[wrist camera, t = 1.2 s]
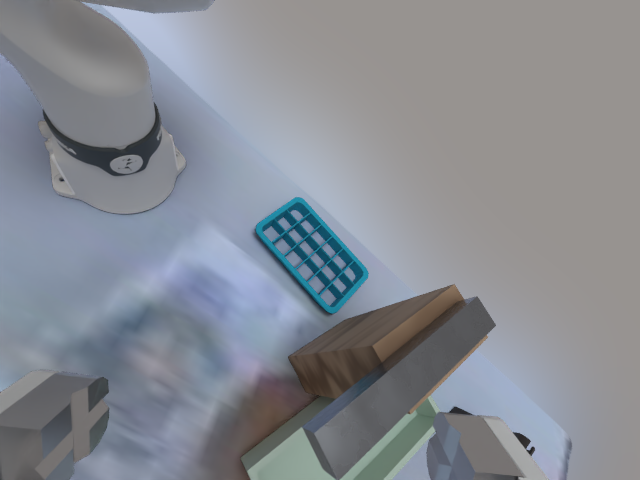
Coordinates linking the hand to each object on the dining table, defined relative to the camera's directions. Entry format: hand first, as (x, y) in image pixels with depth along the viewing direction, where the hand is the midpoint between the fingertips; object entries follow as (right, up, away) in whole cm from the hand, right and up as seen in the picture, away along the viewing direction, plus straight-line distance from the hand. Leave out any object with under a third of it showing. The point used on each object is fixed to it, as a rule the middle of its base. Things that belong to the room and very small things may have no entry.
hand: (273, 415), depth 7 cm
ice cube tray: (-1, +1, +48) cm, 48 cm away
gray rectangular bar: (+8, -6, +18) cm, 20 cm away
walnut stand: (+2, -15, +42) cm, 45 cm away
